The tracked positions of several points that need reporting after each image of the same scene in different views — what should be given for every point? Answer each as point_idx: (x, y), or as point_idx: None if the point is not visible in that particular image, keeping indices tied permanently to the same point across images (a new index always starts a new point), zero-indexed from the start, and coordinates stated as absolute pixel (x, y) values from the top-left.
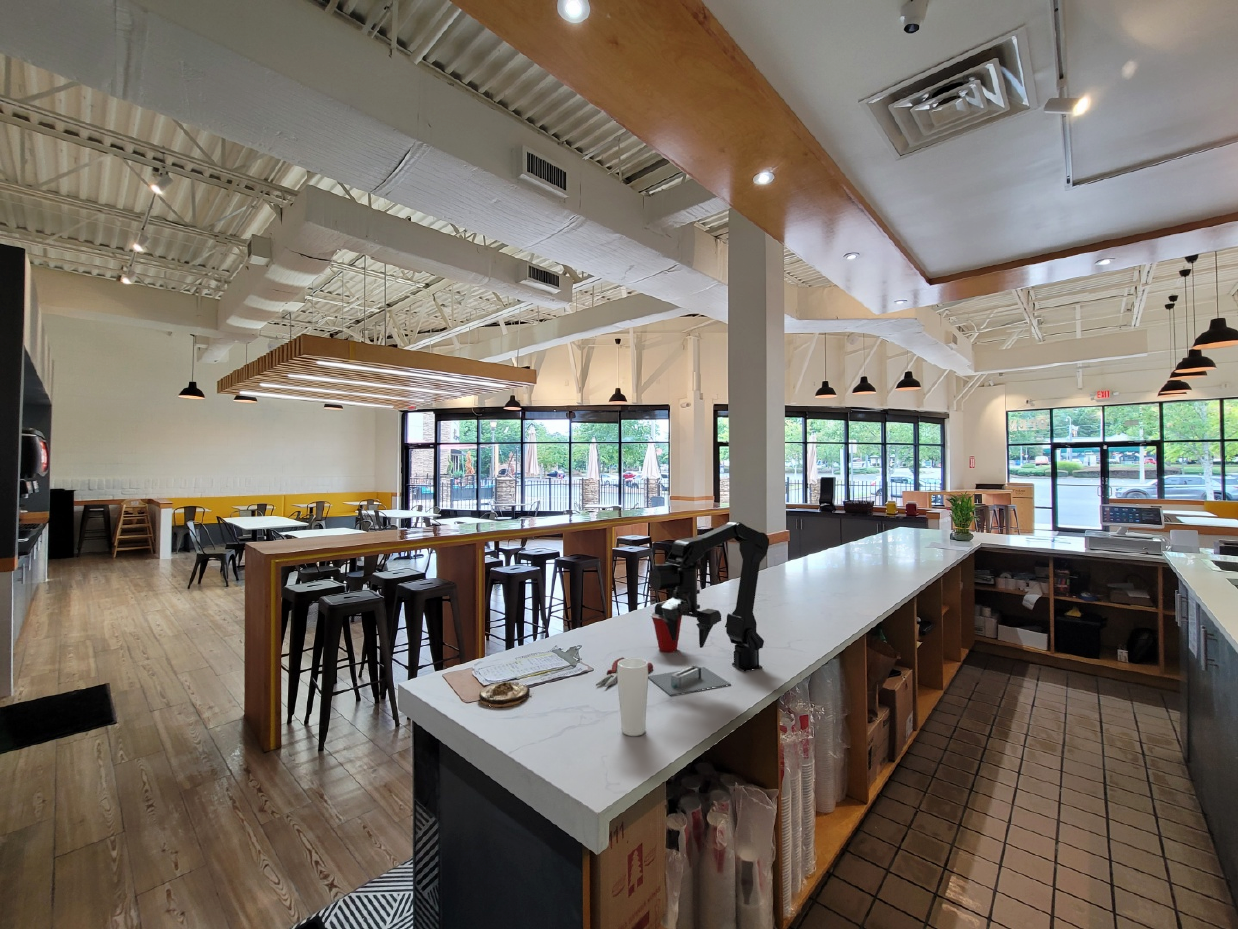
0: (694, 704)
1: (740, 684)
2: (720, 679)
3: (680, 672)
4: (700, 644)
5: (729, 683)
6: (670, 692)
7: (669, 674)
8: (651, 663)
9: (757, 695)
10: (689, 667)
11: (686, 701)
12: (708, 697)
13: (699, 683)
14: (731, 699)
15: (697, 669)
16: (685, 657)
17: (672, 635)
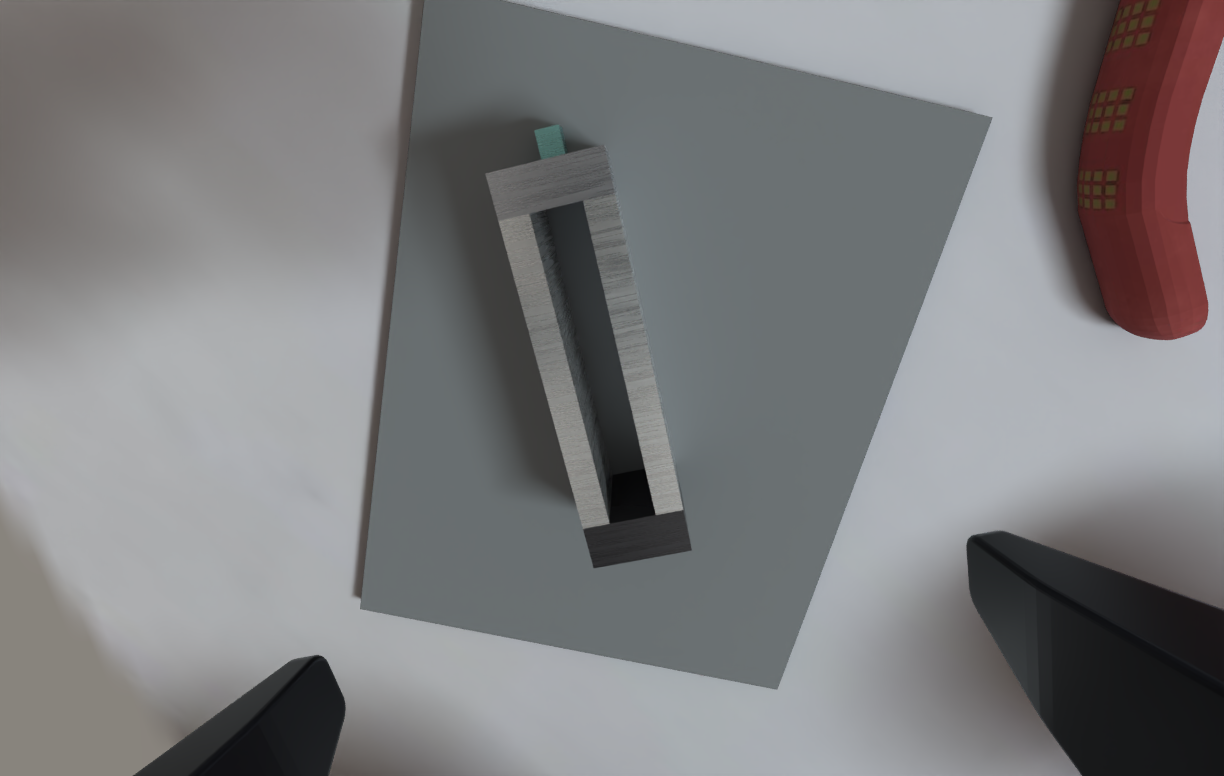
0: (154, 69)
1: (348, 664)
2: (476, 609)
3: (609, 306)
4: (253, 700)
5: (370, 605)
6: (472, 25)
7: (858, 344)
8: (1172, 323)
9: (116, 614)
10: (670, 485)
11: (248, 50)
12: (240, 293)
13: (502, 419)
14: (124, 418)
15: (579, 514)
16: None
17: (1057, 594)
